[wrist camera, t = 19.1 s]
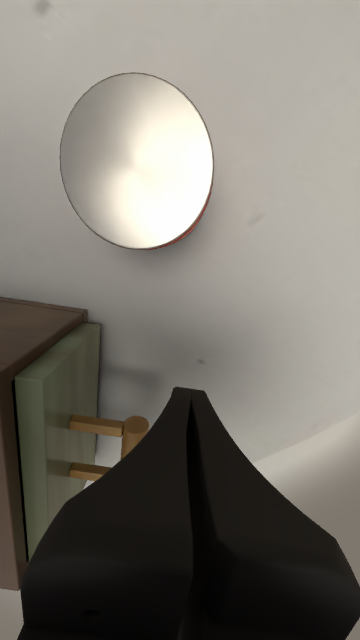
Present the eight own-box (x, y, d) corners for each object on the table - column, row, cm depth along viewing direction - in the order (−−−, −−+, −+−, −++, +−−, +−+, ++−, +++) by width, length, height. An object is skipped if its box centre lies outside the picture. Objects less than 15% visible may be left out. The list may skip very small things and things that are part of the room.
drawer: (165, 334, 17) (148, 396, 10) (147, 470, 21) (127, 577, 14) (-74, 299, 17) (-241, 339, 10) (-47, 441, 20) (-157, 536, 14)
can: (119, 140, 14) (56, 56, 8) (212, 154, 14) (230, 82, 8) (114, 237, 16) (58, 239, 9) (197, 250, 16) (201, 261, 9)
